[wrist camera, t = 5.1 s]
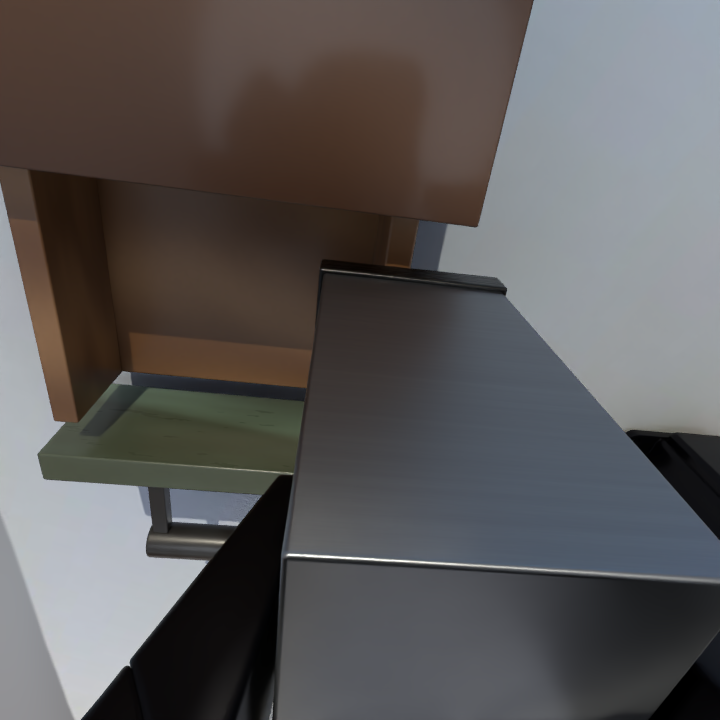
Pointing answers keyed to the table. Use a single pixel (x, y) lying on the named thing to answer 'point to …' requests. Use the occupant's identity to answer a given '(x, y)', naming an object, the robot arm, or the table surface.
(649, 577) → the brushed steel box
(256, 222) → the drawer
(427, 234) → the table surface
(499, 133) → the cabinet
